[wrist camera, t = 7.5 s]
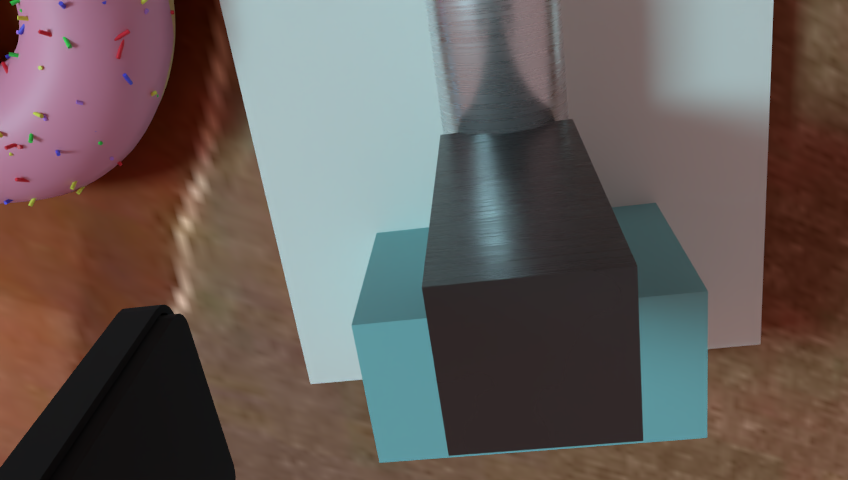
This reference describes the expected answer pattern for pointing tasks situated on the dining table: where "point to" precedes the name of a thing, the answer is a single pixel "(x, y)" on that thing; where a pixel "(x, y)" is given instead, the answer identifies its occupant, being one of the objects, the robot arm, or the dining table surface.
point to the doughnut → (79, 91)
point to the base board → (422, 126)
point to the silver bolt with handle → (523, 246)
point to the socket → (413, 361)
